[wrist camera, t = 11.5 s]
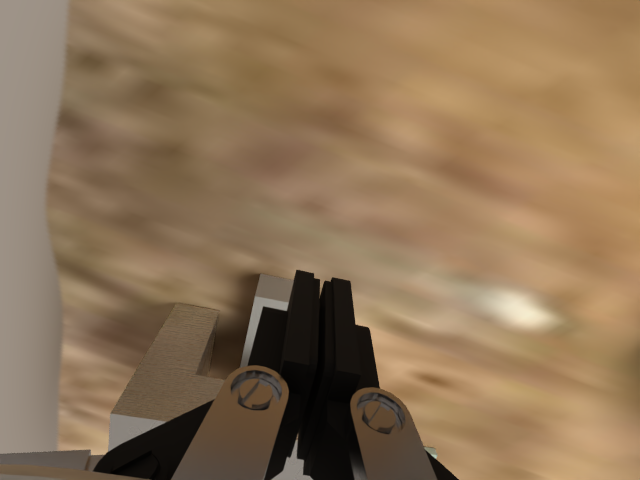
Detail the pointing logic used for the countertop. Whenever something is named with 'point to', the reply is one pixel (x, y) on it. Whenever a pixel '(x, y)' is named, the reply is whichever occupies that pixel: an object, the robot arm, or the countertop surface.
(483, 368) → the countertop surface
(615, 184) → the countertop surface
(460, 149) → the countertop surface
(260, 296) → the plug
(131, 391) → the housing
